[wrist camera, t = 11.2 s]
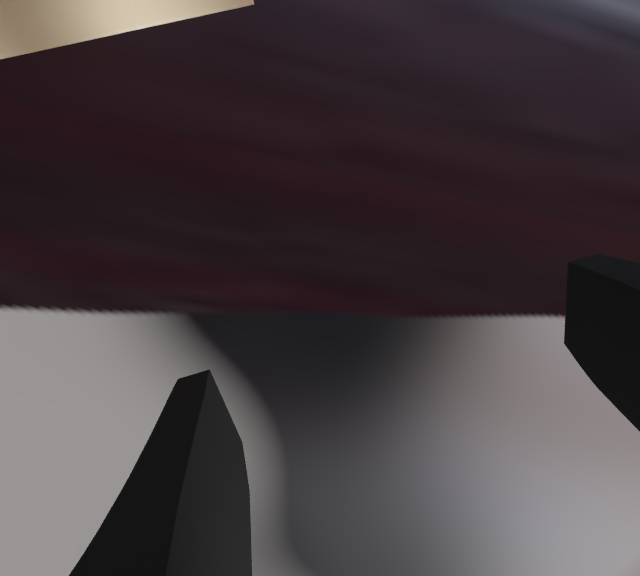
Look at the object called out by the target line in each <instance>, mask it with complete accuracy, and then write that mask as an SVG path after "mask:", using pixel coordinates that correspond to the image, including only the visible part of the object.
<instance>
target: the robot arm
mask: <svg viewBox="0 0 640 576" xmlns="http://www.w3.org/2000/svg"><path fill="white" fill-rule="evenodd" d="M564 344H565V345H566V346H567V348H568V349H569V350H570V352H571V354H572V355H573V356H574V358H575V359H576V361H577V362H578V363H579V365H580V366H581V367H582V369H583V370H584V371H585V373H586V374H587V375H588V377H589V378H590V379H591V380H592V382H593V383H594V384H595V385H596V387H597V388H598V389H599V390H600V391H601V392H602V393H603V394H604V395H605V396H606V397H607V398H608V399H609V400H610V401H611V402H612V403H613V404H614V405H615V406H616V407H617V409H618V410H619V411H620V412H621V413H622V414H623V415H624V416H625V417H626V418H627V419H628V420H629V421H630V422H631V423H632V424H633V425H634V426H635V427H636V428H637V429H638V430H639V431H640V264H637V263H634V262H630V261H626V260H623V259H619V258H615V257H611V256H606V255H601V254H595V255H592V256H588V257H585V258H582V259H578V260H575V261H571V262H568V277H567V297H566V317H565V338H564ZM249 496H250V494H249V485H248V478H247V470H246V464H245V457H244V451H243V444H242V441H241V438H240V436H239V434H238V432H237V429H236V427H235V425H234V423H233V421H232V418H231V416H230V414H229V412H228V409H227V407H226V405H225V403H224V401H223V398H222V396H221V394H220V392H219V390H218V387H217V385H216V383H215V381H214V378H213V376H212V374H211V372H210V370H207V371H203V372H200V373H197V374H193V375H190V376H187V377H183V378H180V379H178V380H177V382H176V384H175V386H174V388H173V390H172V392H171V394H170V396H169V398H168V400H167V402H166V404H165V406H164V408H163V411H162V413H161V415H160V417H159V419H158V421H157V423H156V425H155V427H154V429H153V431H152V433H151V435H150V437H149V439H148V441H147V443H146V445H145V447H144V449H143V451H142V453H141V455H140V457H139V459H138V461H137V462H136V464H135V466H134V468H133V470H132V472H131V474H130V476H129V478H128V480H127V481H126V483H125V485H124V487H123V489H122V490H121V492H120V494H119V495H118V497H117V499H116V501H115V502H114V504H113V506H112V507H111V509H110V511H109V513H108V514H107V516H106V518H105V520H104V521H103V523H102V525H101V527H100V528H99V530H98V532H97V533H96V535H95V537H94V538H93V540H92V541H91V543H90V544H89V546H88V547H87V549H86V551H85V552H84V554H83V555H82V557H81V558H80V560H79V562H78V563H77V564H76V566H75V567H74V569H73V570H72V572H71V573H70V575H69V576H252V560H251V523H250V497H249Z"/></svg>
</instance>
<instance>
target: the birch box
mask: <svg viewBox="0 0 640 576" xmlns="http://www.w3.org/2000/svg"><path fill="white" fill-rule="evenodd" d="M253 4H254V1H253V0H0V59H4V58H9V57H13V56H18V55H22V54H27V53H32V52H36V51H41V50H45V49H50V48H55V47H59V46H64V45H69V44H73V43H78V42H82V41H87V40H92V39H96V38H101V37H105V36H110V35H115V34H119V33H124V32H129V31H133V30H138V29H142V28H147V27H152V26H156V25H161V24H165V23H170V22H175V21H179V20H184V19H189V18H193V17H198V16H202V15H207V14H212V13H216V12H221V11H226V10H230V9H235V8H239V7H244V6H249V5H253Z"/></svg>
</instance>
